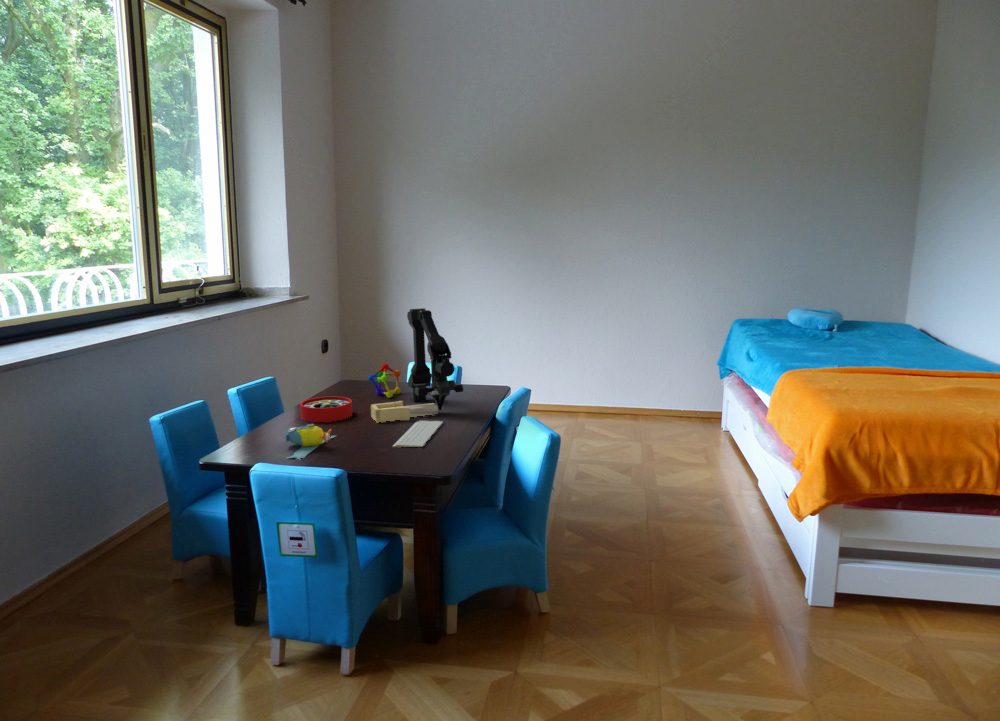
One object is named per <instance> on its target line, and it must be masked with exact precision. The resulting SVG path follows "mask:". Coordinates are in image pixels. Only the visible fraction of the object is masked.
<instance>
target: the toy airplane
mask: <svg viewBox="0 0 1000 721" xmlns="http://www.w3.org/2000/svg"><path fill="white" fill-rule="evenodd" d="M332 430H333V428H329V429H328V431H324V430H323V429H322V427H320V426H317V425H315V424H314V423H309V424H303V425H301V426H300V425H299V426H294V427H291V428H287V429H286V432H285V434H284V435H285V436H284V437H285V442H286V443H288V442H289V443H292V444H295V445H297V446H301V447H299V449H297V450H296V451H295V452H294V453H293V454H294V455H293V454H292V455H291V456H288V457H286V458H285V459H286V460H289V459H293V458H295V459H294V460H297V459H299V460H298V461H302V460H301V459H300V458H303V459H305V458H306V457H307V456H308V455H309V454H311V453H312V452H313V451H315V449H317V448H318V447H320V445H323V444H324V443H327V444H328V443H329V442H330V441H331V440H332V439H333V438H336V437H337V435H331V432H332ZM330 436H331V437H330Z"/></svg>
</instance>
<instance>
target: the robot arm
mask: <svg viewBox="0 0 1000 721" xmlns="http://www.w3.org/2000/svg"><path fill="white" fill-rule="evenodd" d="M432 315H433V313H432V310H429V309H427V310H426V308H410V309H409V311H407V315H406V316H407V320H408V324H409V326H410V327H411V329H412V338H413V339H412V340H413V357H414V358H413V360H414V363H413V365H412V367H411V369H410V375H409V378H408V379H407V380H408V381H407V384H408V387H409V388H410V389H412V397H411V398H410V400H411V401H412V402H414V403H418V402H419V403H420V402H421V403H422V402H429V400H430V399H429V398H427V395H429V396H431V397H432V398H433V400H434V402H435V404H436V405H437V406H438V411H442V408H443V405H444V402H445V399H446V398H447V397H448V396H450V395H451V394H450V393H451V391H454V393H461V392H462V393H463V392H464V386H463V384H461V383H460V382H456V381H455V380H454V379H452V380H451V379H449V380H448V377H450V376H452V375H454V372H455V369H456V368H455V365H454V364H453V363H452V362H450V359H452V352H451V349H450V347H449V345H448V342H447V341H446V339H445V338H444V337H443V336H442V335H440V333H439V332H438V329H437V327H436V323H435V321H434V319H433V316H432ZM425 335H426V338H427V346H425V345H426V343H425V342H426V341H425ZM426 347H427V348H426ZM426 349H427V353H428V355H429V357H430V358H429V359H430V365H431V366H430V367H431V368H430V367H429V366H428V365H427V363H426Z"/></svg>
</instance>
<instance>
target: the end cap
mask: <svg viewBox="0 0 1000 721" xmlns="http://www.w3.org/2000/svg"><path fill="white" fill-rule="evenodd" d="M401 406H404V400H398V401H397V400H396V401H392V402H382V403H372V404H370V416H371V419H373V421H374V420H375V421H376V422H375V421H374V422H375V423H376V424H379V422H381V423H387V422H386V421H390V422H396V421H395V420H400V421H410V420H411V418H410V408H409V407H401ZM391 407H394V408H391ZM381 408H384V409H381Z"/></svg>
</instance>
